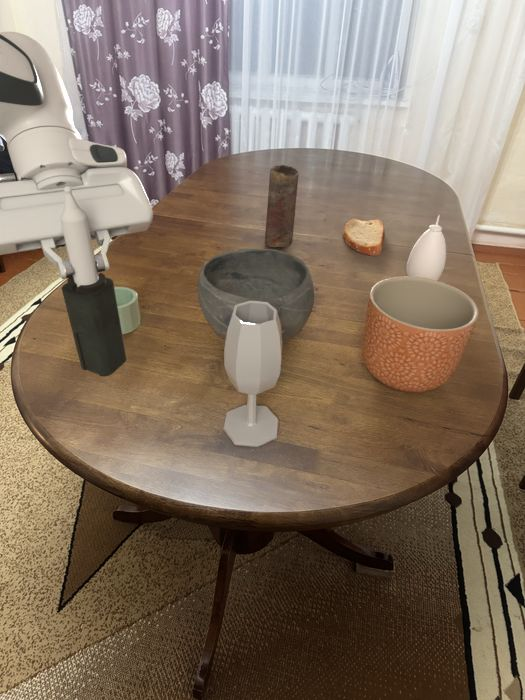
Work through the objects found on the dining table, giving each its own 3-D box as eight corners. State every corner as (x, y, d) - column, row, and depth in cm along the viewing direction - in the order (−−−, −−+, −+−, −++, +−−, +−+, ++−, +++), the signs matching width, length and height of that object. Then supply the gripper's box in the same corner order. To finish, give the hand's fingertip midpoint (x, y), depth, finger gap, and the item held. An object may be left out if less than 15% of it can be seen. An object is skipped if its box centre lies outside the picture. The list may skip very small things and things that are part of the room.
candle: (130, 358, 67) (101, 183, 52) (107, 378, 64) (68, 197, 49) (101, 348, 69) (65, 176, 54) (77, 367, 65) (31, 188, 50)
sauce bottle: (443, 292, 108) (466, 217, 98) (419, 300, 105) (440, 223, 94) (418, 278, 114) (437, 205, 103) (395, 285, 110) (412, 211, 100)
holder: (98, 337, 89) (93, 310, 86) (98, 314, 95) (92, 289, 92) (142, 331, 91) (138, 305, 88) (139, 310, 97) (135, 284, 94)
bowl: (180, 329, 92) (174, 260, 83) (264, 299, 103) (267, 235, 94) (241, 387, 79) (242, 312, 70) (330, 345, 90) (341, 276, 81)
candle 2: (291, 240, 129) (297, 165, 117) (293, 251, 123) (300, 174, 111) (264, 239, 129) (267, 164, 117) (265, 250, 123) (268, 172, 111)
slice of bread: (370, 258, 122) (373, 245, 119) (322, 235, 133) (323, 222, 130) (412, 242, 131) (415, 229, 129) (363, 222, 142) (366, 210, 140)
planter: (373, 335, 93) (388, 267, 84) (460, 364, 87) (487, 293, 78) (340, 382, 81) (354, 308, 72) (438, 420, 75) (467, 344, 66)
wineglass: (218, 411, 74) (215, 298, 62) (271, 404, 76) (278, 292, 64) (228, 453, 68) (227, 335, 55) (286, 443, 70) (297, 327, 57)
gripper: (-48, 164, 51) (-12, 282, 50) (136, 148, 59) (169, 249, 58) (-36, 192, 57) (-4, 299, 56) (130, 174, 65) (160, 266, 64)
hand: (86, 273), depth 57 cm, fingers closed on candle, 3 cm apart
